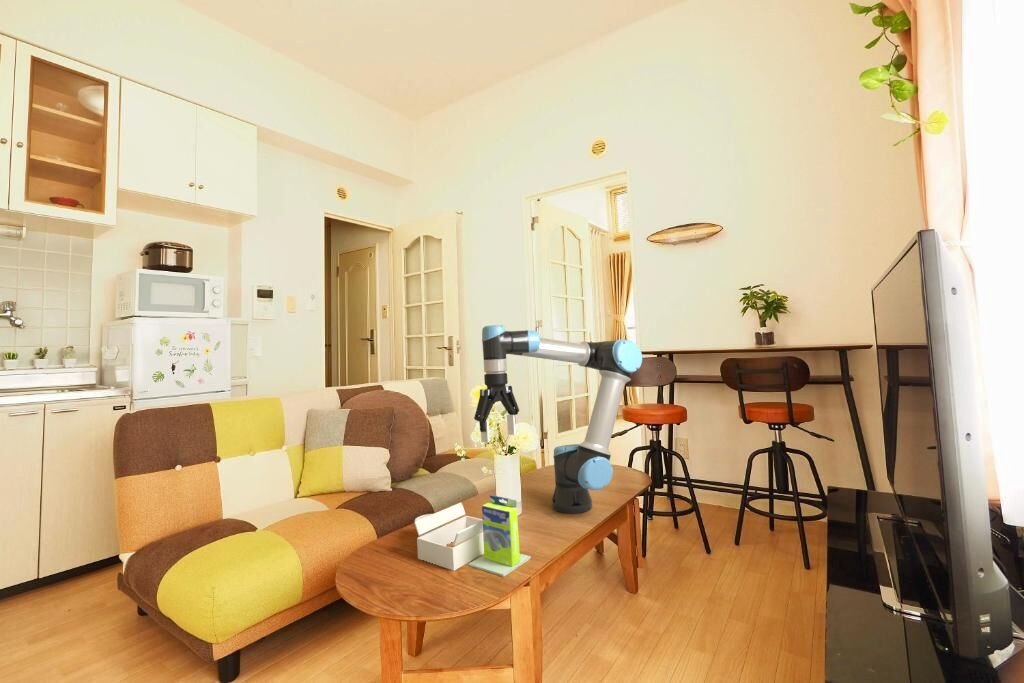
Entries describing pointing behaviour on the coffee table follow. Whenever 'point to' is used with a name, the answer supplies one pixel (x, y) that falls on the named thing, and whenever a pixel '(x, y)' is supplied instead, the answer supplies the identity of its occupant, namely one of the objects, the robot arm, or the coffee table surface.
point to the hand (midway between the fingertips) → (499, 438)
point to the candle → (422, 518)
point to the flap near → (468, 532)
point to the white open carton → (436, 541)
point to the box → (501, 531)
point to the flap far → (439, 518)
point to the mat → (497, 565)
